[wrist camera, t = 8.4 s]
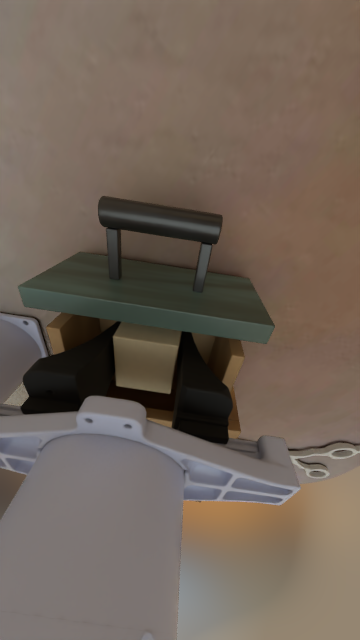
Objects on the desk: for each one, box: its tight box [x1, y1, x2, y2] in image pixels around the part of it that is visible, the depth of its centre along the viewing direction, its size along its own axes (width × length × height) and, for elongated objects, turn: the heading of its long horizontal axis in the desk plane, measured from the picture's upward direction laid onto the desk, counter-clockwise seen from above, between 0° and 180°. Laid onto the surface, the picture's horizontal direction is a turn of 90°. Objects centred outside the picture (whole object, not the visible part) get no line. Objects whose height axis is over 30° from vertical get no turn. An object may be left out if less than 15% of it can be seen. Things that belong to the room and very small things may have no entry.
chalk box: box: [113, 322, 181, 394], centre depth 15 cm, size 4×4×5 cm
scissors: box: [288, 443, 360, 478], centre depth 30 cm, size 11×1×20 cm
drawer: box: [18, 196, 275, 411], centre depth 15 cm, size 18×13×6 cm
